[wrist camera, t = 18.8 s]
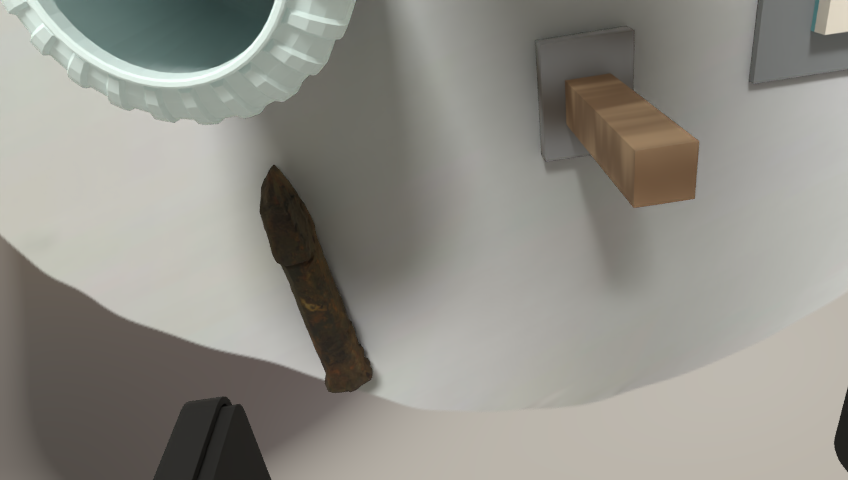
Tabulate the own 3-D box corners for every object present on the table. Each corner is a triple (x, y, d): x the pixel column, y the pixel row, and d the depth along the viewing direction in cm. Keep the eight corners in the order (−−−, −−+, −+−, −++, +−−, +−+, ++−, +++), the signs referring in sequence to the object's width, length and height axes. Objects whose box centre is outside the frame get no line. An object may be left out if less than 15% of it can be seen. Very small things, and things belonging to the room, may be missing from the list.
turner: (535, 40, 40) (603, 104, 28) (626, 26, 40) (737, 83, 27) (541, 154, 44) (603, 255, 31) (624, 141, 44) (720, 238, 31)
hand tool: (374, 358, 53) (373, 396, 49) (328, 367, 53) (324, 405, 49) (312, 154, 44) (304, 180, 39) (257, 165, 44) (244, 192, 40)
